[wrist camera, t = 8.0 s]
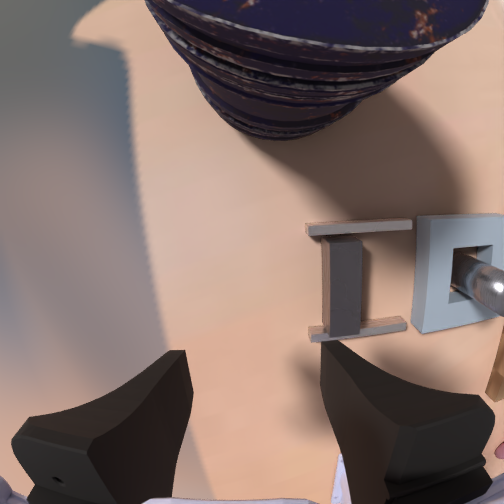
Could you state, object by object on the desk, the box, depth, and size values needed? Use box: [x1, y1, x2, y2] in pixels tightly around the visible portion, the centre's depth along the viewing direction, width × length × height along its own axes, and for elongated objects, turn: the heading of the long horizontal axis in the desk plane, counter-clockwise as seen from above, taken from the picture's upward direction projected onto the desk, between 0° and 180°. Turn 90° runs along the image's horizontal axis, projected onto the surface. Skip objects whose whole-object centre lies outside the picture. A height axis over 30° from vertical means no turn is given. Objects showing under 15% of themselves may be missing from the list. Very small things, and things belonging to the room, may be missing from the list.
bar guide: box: [305, 218, 412, 343], centre depth 21 cm, size 8×7×1 cm
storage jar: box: [145, 0, 489, 141], centre depth 11 cm, size 10×10×15 cm
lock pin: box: [450, 252, 504, 317], centre depth 18 cm, size 3×3×6 cm
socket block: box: [411, 213, 504, 334], centre depth 20 cm, size 8×8×2 cm
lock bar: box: [321, 234, 362, 338], centre depth 20 cm, size 6×2×2 cm, turn 4°
